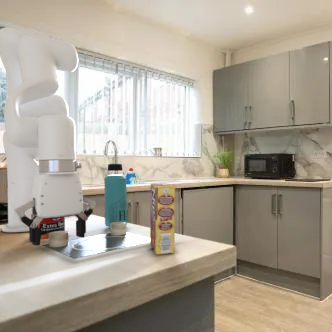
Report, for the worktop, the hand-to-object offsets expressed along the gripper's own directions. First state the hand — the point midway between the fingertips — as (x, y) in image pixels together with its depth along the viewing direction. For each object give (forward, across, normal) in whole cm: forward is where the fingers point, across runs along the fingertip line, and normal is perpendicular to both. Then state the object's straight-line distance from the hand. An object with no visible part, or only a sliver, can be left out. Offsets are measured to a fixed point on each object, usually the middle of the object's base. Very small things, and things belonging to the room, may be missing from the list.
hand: (59, 240), depth 77 cm
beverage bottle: (+2, -20, -10) cm, 22 cm away
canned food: (+2, -2, -14) cm, 14 cm away
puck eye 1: (+1, 0, 0) cm, 1 cm away
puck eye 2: (+1, -15, 0) cm, 15 cm away
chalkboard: (+2, -8, +5) cm, 9 cm away
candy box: (+2, -14, +20) cm, 25 cm away
